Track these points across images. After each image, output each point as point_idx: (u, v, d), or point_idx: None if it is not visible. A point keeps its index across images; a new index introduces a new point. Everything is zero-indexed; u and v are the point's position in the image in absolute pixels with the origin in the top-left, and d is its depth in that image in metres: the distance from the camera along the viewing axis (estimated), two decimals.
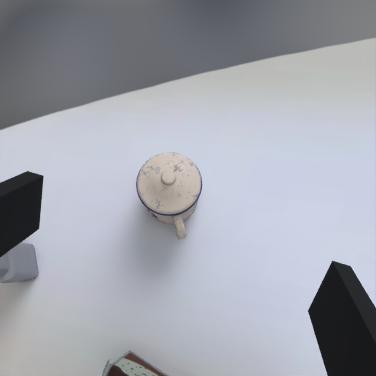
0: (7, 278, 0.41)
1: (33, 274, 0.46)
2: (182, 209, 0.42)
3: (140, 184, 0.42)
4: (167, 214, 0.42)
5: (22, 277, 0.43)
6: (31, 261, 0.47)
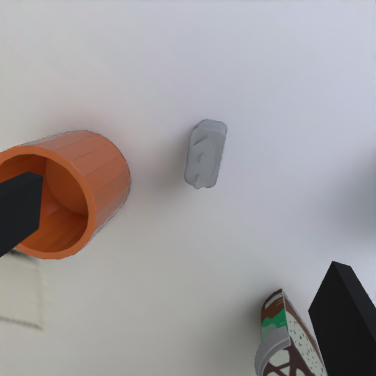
0: (205, 185, 0.30)
1: None
2: None
3: None
4: None
5: None
6: None
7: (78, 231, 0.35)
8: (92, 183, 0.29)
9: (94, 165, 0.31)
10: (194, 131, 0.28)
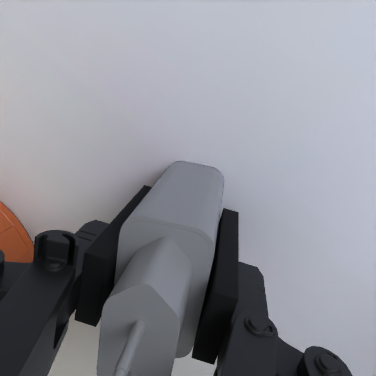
0: None
1: None
2: None
3: None
4: None
5: None
6: None
7: None
8: None
9: None
10: (129, 224, 0.10)
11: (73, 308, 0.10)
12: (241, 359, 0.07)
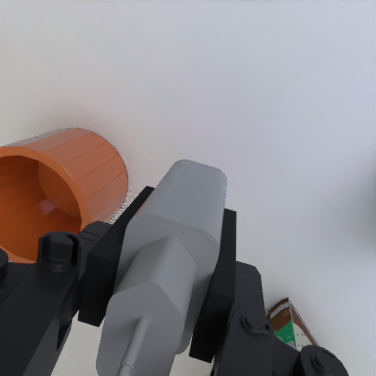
0: None
1: None
2: None
3: None
4: None
5: None
6: None
7: None
8: (85, 187, 0.27)
9: (88, 167, 0.28)
10: (136, 221, 0.10)
11: (76, 309, 0.10)
12: (237, 357, 0.07)
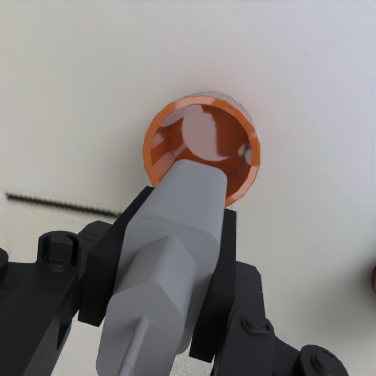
0: None
1: None
2: None
3: None
4: None
5: None
6: None
7: None
8: None
9: (249, 119, 0.32)
10: (136, 220, 0.10)
11: (76, 309, 0.10)
12: (237, 358, 0.07)
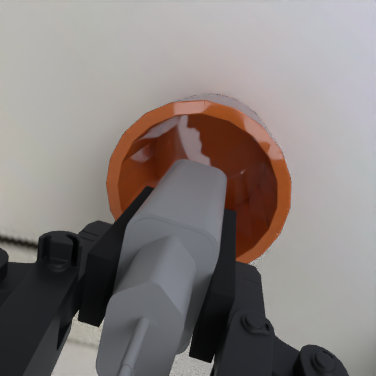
0: None
1: None
2: None
3: None
4: None
5: None
6: None
7: None
8: None
9: None
10: (136, 220, 0.10)
11: (76, 309, 0.10)
12: (238, 358, 0.07)
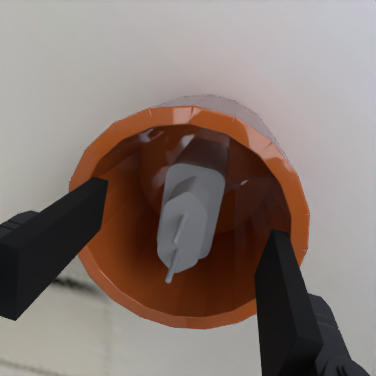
0: None
1: None
2: None
3: None
4: None
5: None
6: None
7: (210, 266, 0.21)
8: None
9: (282, 151, 0.16)
10: (172, 168, 0.16)
11: None
12: None
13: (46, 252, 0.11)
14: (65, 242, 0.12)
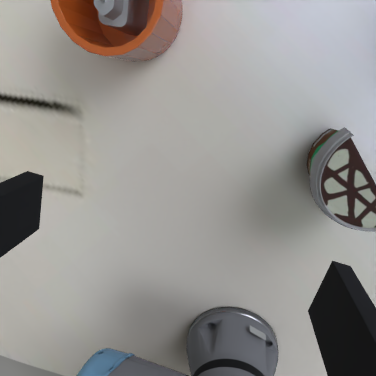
0: (117, 25, 0.33)
1: (141, 31, 0.38)
2: None
3: None
4: None
5: (131, 30, 0.35)
6: (143, 13, 0.37)
7: None
8: None
9: None
10: None
11: None
12: None
13: None
14: None
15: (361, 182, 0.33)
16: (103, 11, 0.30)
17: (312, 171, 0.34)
